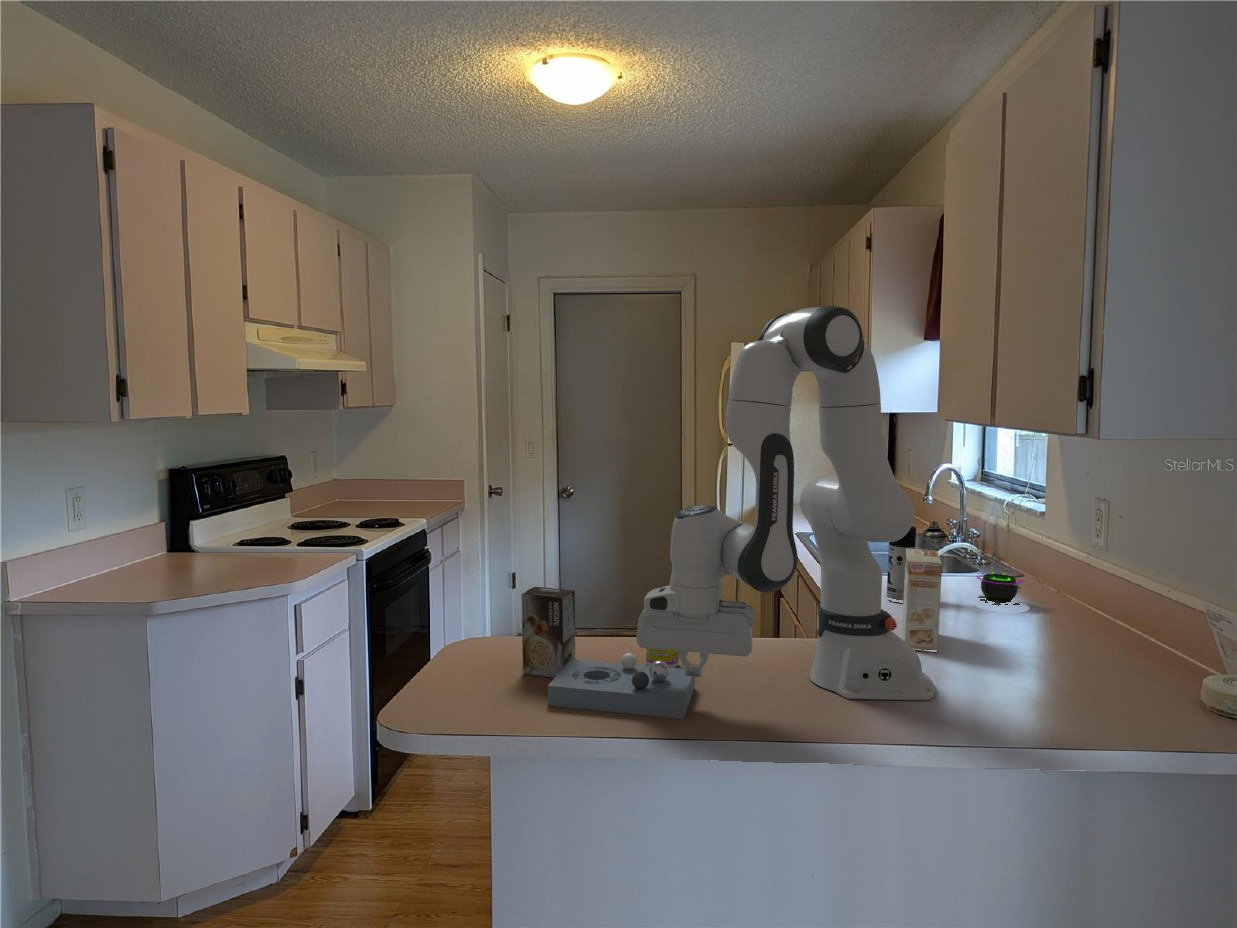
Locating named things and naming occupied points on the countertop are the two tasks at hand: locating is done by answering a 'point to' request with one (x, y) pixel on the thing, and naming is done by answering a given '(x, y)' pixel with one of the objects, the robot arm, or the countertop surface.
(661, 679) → the steel ball
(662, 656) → the supplement bottle
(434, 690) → the countertop surface
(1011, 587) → the toy cauldron
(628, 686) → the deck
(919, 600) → the coffeecake box
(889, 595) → the spray can
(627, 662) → the cream ball
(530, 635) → the coffee box
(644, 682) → the black ball
